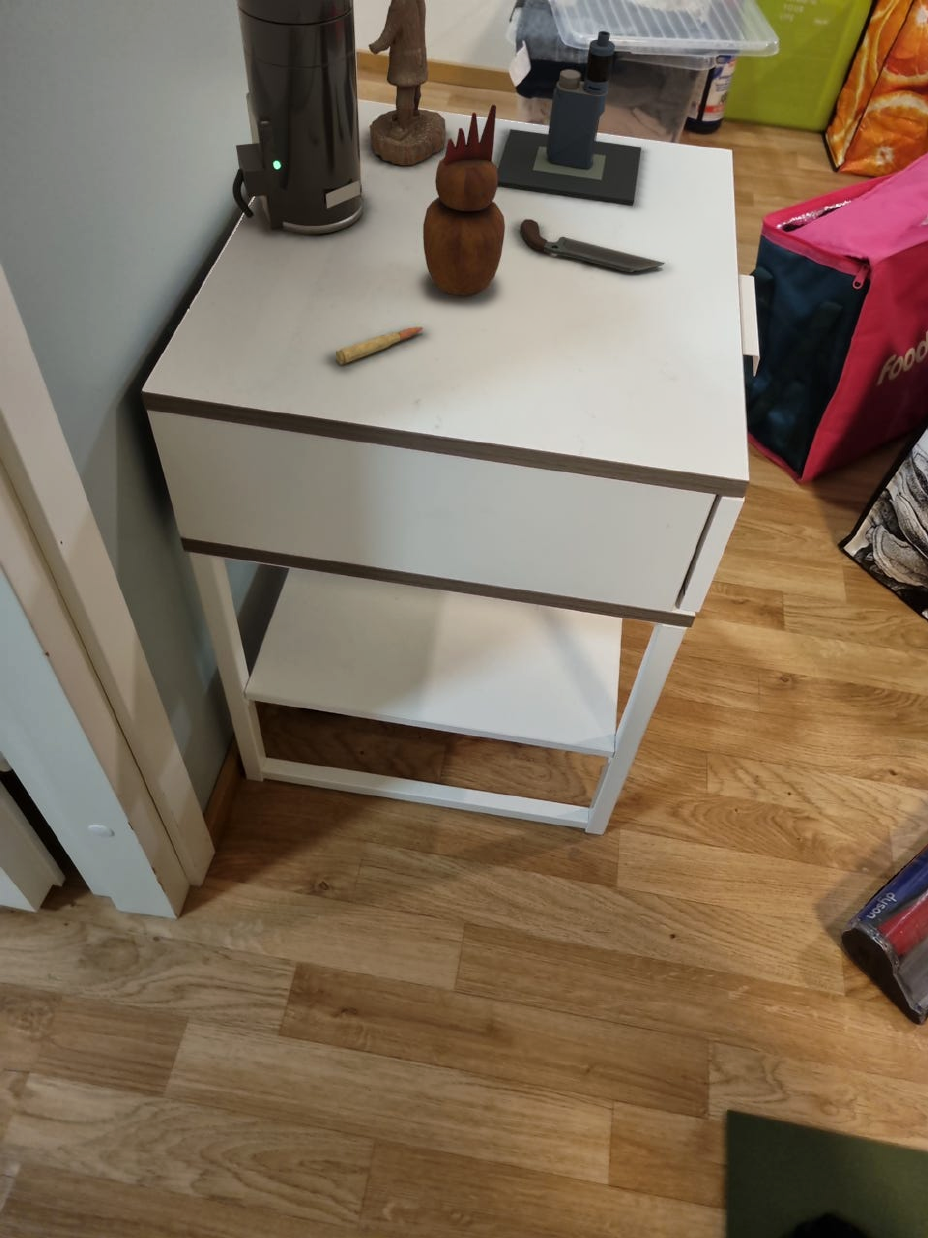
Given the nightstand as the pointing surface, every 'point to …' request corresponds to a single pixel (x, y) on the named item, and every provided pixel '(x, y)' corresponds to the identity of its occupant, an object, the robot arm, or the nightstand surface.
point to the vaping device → (580, 107)
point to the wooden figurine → (465, 215)
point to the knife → (585, 250)
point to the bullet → (373, 345)
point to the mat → (569, 170)
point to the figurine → (406, 89)
